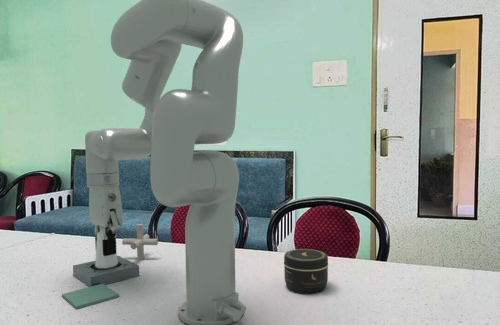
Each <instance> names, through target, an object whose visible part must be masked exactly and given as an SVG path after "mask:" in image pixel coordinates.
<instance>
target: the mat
mask: <svg viewBox="0 0 500 325" xmlns="http://www.w3.org/2000/svg"><path fill="white" fill-rule="evenodd" d="M61 298H63V299H64V300H65V301H66V302H68V304H70V305H71V306H72V307H73V308H74V309H76V310H79V309H83V308H87V307H89V306H92V305H96V304H101V303H103V302H107V301H110V300H114V299H116V298H120V293H118V292H116V291H115V290H114V289H112V288H111V287H109V286H108V285H107V284H106V285H104V284H99V285H95V286H91V287H89V286H86V287H84V288H80V289H77V290H73V291H68V292H64V293H61Z"/></svg>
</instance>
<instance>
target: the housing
mask: <svg viewBox="0 0 500 325" xmlns="http://www.w3.org/2000/svg"><path fill="white" fill-rule="evenodd" d="M117 260H118V264H117V265H116V266H114V267H110V268H97V267H95V260H93V261H88V262H82V263H77V264H74V265H72V276H73V277H74V278H76V279H77V280H79V281H80V282H82V283H83V284H84V285H86V287H91V286H95V285H99V284H104V285H106V286H107V285H110V284H113V283H117V282H120V281H121V282H122V281H125V280H129V279H132V278H136V277H139V276H140V265H139V264H137V263H135V262H133V261H131V260H128V259H126V258H124V257H123V256H120V255H117Z"/></svg>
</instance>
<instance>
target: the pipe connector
mask: <svg viewBox="0 0 500 325" xmlns="http://www.w3.org/2000/svg"><path fill="white" fill-rule="evenodd" d="M121 241H122V242H121V244H122V245H124V246H127V245H128V246H130V249H132V250H136V253H137V254H136V256H137V260H138V261H139V260H140V261H142V260H144V259H145V254H144V253H145V250H144V249H145V248H144V246H158V244H159V239H158V238H151V237H150V235H149V234H147V233H146V234H144V224H143V223H137V224H136V238H122V240H121Z"/></svg>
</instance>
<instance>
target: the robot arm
mask: <svg viewBox="0 0 500 325" xmlns="http://www.w3.org/2000/svg"><path fill="white" fill-rule="evenodd" d="M110 45H111V48H112V51H113V53H114V54H115V55H116V56H118V57H119V58H122V59H126V60H131V61H130V62H129V65H128V68H127V70H126V73H125V76H124V78H123V80H122V82H121V83H122V84H121V88H122V92H123V93H124V94H125V95H126V96H127V97H128V98H129V99H130V100H132V101H133V102H135V103H136V104H138V105H139V106H141V107H143V108H144V115H143V116H144V117H143V119H142V121H141V124H140V126H139V128H132V127H131V128H128V127H127V128H126V127H124V128H123V127H121V128H118V127H117V128H116V127H115V128H114V127H112V128H110V127H109V128H103V129H100V130H90V131H87V132H86V133H85V135H84V136H85V137H84V145H85V147H84V148H85V165H86V166H85V168H86V187H87V188H88V189H89V191H88V193H89V194H88V215H89V221H90V223H91V224H92V225H93V229H94V233H93V234H94V241H95V243H94V244H95V247H96V245H97V233H98V232H100V229H99V227H103V235H104V240H102V243H103V255H104V256H108V255H113V254H117V232H118V231H119V230H120V226H122V225H123V223H124V218H123V216H124V215H123V205H122V204H123V203H122V195H121V192H120V191H121V190H120V174H119V173H120V172H119V171H120V170H119V161H124V160H125V161H126V160H143V159H146V158H148V157H150V164H149V165H150V166H149V167H150V168H149V169H150V170H149V172H150V173H149V174H150V176H149V179H150V180H149V181H150V186H151V191H152V193H153V196H154V198H155V199H156V200H157V202H159V203H160V205H163V206H165V207H169V208H179V207H185V206H189V208H188V211H187V215H186V218H185V226H184V232H185V234H184V235H185V237H184V238H185V240H184V242H185V243H184V244H185V248H184V249H185V250H184V251H185V282H186V284H185V287H186V301H185V302H183V303H182V304H181V305H180V306H179V307H178V317H179V319H180V320H181V321H182V322H183V323H185V324H187V325H230V324H232V323H234V322H239V321H240V320H241V318H242V316H243V315H244V314H245V313H246V312H247V307H246V305H244V304H243V302H241V300H239V293H238V292H236V242H235V241H236V227H235V226H236V222H235V221H236V218H235V217H236V206H237V204H236V203H237V198H238V197H237V196H238V191H239V184H240V171H239V168H238V164H237V163H236V161H235V160H234V158H232V157H231V156H230V155H229V154H227V153H225V152H222V151H218V150H199V151H198V150H196V151H194V150H195V145H214V144H215V145H217V144H222V143H224V142H227V141H228V140H229V139H230V138H231V137H232V136H233V134H234V131H235V126H236V120H237V119H236V117H237V106H238V105H237V104H238V92H239V90H238V89H239V88H238V87H239V71H240V64H241V59H242V54H243V47H244V32H243V29H242V26H241V24H240V21H239V20H238V19H237V18H236V17H235V16H234V15H233V14H232V13H231V12H229V11H227V10H225V9H224V8H221V7H219V6H217V5H215V4H212V3H210V2H207V1H205V0H139V1H138V2H137V3H136V4H134V5H132V6H131V7H130V8H128V9H127V10H126V11H124V12H123V13H122V14H121V16H120V17H119V18H118V19H117V21H116V22H115V24H114V25H113V28H112V30H111V34H110ZM182 45H185V46H190V47H195V48H199V49H201V50H202V51H201V52H200V53H199V55H198V57H197V58H196V60H195V62H194V65H193V69H192V78H191V79H192V80H191V89H186V88H177V89H171V90H169V91H167V92H165V93H164V94H163V92H164V90H165V87H166V86H167V82H168V81H169V79H170V76H171V73H172V72H173V69H174V67H175V65H176V62H177V60H178V57H179V56H180V53H181V50H182ZM162 94H163V95H162ZM108 224H111V225H110V226H107V225H108ZM107 229H110V230H108V232H107Z"/></svg>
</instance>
